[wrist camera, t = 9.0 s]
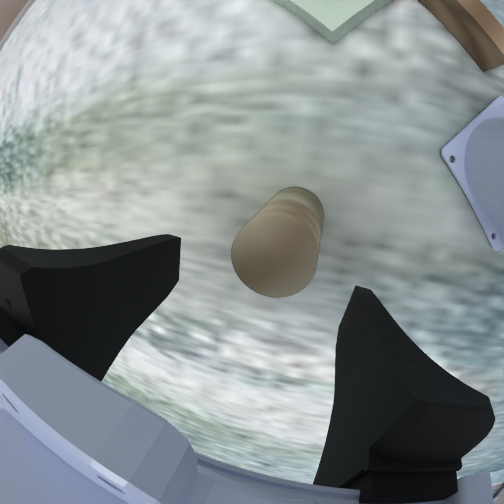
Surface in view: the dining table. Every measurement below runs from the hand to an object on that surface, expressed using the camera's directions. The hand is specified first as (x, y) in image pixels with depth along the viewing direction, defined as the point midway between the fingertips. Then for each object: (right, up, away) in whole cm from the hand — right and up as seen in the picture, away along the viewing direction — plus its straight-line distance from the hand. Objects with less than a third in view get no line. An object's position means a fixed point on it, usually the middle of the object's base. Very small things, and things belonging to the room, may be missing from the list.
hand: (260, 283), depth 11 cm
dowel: (+3, +4, +9) cm, 10 cm away
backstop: (+10, +22, -1) cm, 24 cm away
